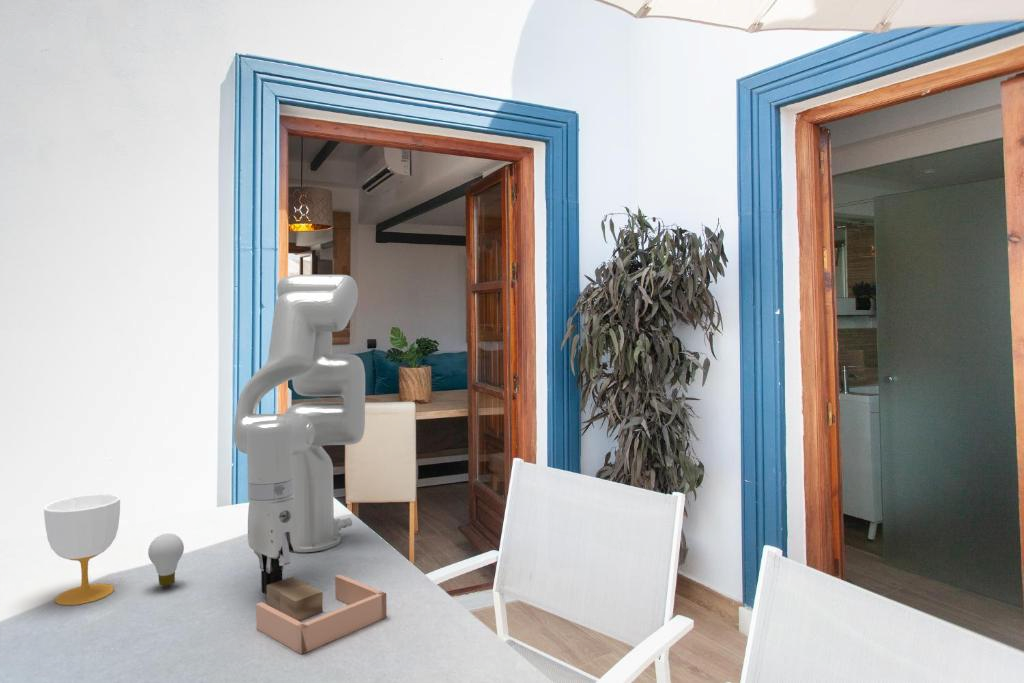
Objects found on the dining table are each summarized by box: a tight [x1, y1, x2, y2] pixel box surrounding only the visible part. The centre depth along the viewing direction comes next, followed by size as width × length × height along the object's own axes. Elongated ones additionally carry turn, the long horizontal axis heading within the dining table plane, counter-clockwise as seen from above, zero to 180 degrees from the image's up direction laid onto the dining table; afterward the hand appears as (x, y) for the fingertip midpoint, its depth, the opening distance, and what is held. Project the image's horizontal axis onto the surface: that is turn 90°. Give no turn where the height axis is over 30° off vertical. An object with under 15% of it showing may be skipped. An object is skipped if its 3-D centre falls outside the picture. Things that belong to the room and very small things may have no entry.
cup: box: [43, 493, 121, 606], centre depth 119 cm, size 12×12×17 cm
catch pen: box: [255, 574, 388, 655], centre depth 107 cm, size 16×13×4 cm
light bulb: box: [147, 533, 185, 589], centre depth 122 cm, size 6×6×10 cm
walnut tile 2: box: [280, 583, 324, 622], centre depth 111 cm, size 5×5×4 cm
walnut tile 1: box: [266, 576, 309, 611], centre depth 114 cm, size 5×5×4 cm
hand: (272, 591), depth 117 cm, fingers closed
